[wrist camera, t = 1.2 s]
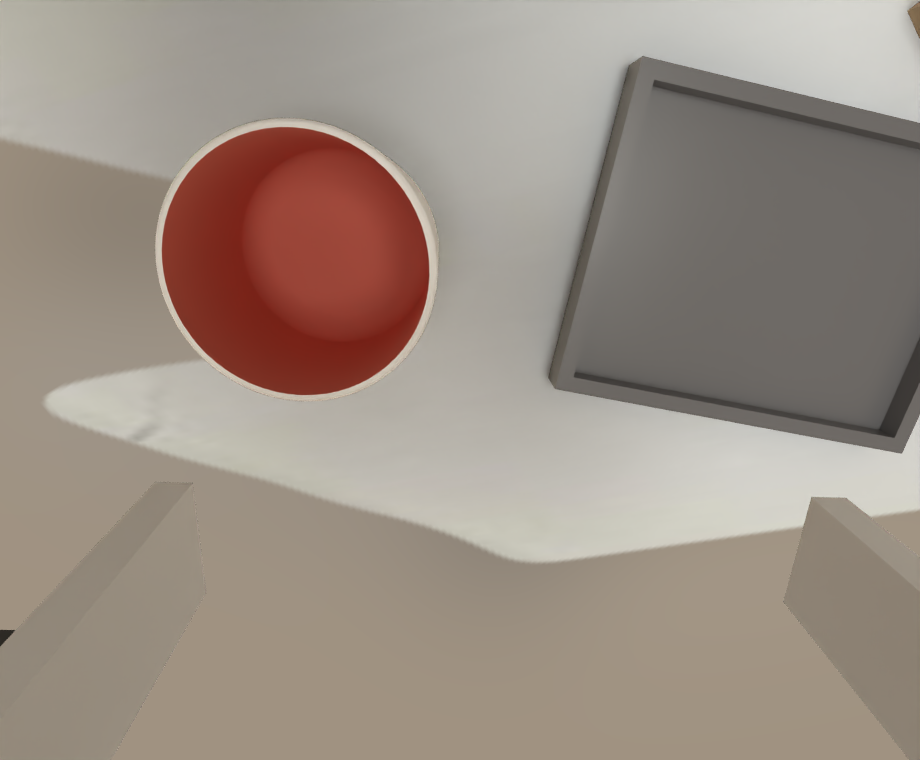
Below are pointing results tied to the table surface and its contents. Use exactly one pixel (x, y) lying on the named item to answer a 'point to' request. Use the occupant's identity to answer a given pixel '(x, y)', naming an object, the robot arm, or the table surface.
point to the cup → (297, 259)
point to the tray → (751, 261)
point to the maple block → (915, 17)
